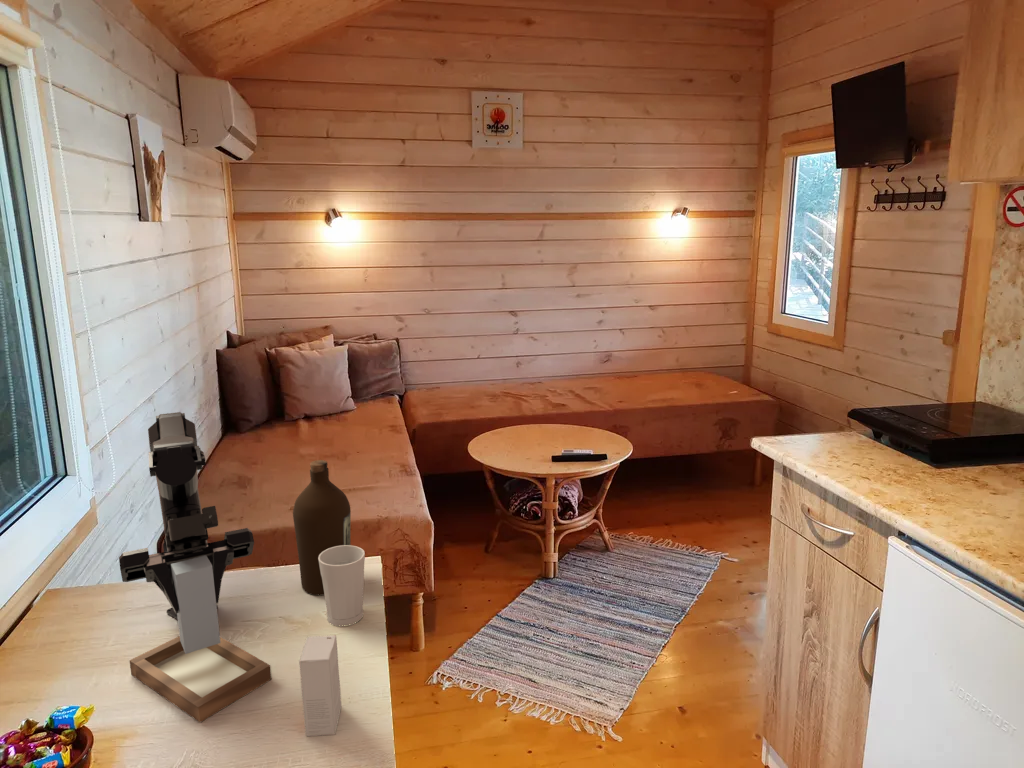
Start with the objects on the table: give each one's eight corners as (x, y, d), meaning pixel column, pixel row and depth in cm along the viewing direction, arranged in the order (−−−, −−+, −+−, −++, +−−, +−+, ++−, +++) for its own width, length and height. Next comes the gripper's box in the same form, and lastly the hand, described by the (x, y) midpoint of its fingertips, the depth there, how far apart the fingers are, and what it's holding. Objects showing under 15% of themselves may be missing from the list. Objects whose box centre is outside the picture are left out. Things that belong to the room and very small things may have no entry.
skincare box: (312, 708, 105) (306, 635, 103) (341, 707, 106) (337, 633, 103) (304, 737, 99) (298, 660, 97) (335, 736, 100) (330, 659, 97)
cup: (357, 631, 125) (353, 567, 122) (314, 626, 126) (310, 563, 124) (374, 607, 133) (371, 547, 130) (334, 602, 134) (330, 543, 131)
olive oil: (297, 600, 135) (288, 474, 129) (299, 574, 145) (290, 455, 139) (355, 593, 137) (348, 469, 132) (353, 568, 147) (346, 451, 142)
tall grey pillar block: (180, 641, 111) (170, 563, 108) (214, 630, 114) (206, 555, 111) (185, 653, 108) (175, 574, 105) (220, 642, 110) (212, 565, 107)
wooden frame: (131, 674, 113) (129, 660, 113) (201, 638, 123) (200, 625, 122) (199, 722, 102) (198, 707, 102) (271, 679, 112) (270, 665, 111)
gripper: (111, 502, 104) (123, 607, 97) (246, 480, 113) (266, 574, 106) (117, 532, 113) (128, 630, 106) (242, 509, 122) (260, 598, 115)
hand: (197, 607), depth 108 cm, fingers closed on tall grey pillar block, 5 cm apart
